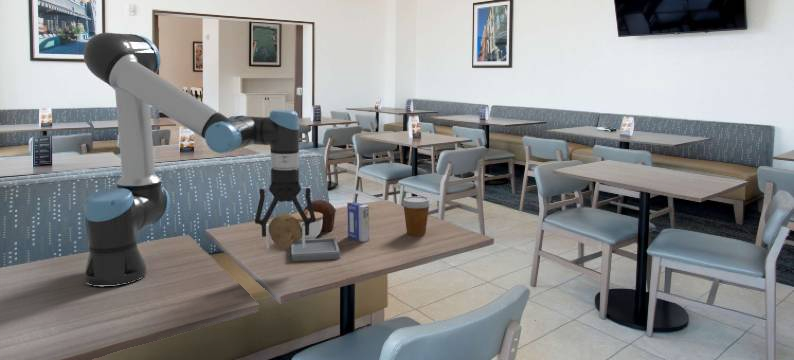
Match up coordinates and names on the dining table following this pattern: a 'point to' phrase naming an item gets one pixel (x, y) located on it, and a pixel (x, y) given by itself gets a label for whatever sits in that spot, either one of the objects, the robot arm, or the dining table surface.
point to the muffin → (324, 214)
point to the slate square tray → (315, 249)
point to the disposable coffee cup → (416, 214)
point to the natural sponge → (285, 230)
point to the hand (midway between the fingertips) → (285, 246)
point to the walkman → (358, 221)
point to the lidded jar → (311, 224)
